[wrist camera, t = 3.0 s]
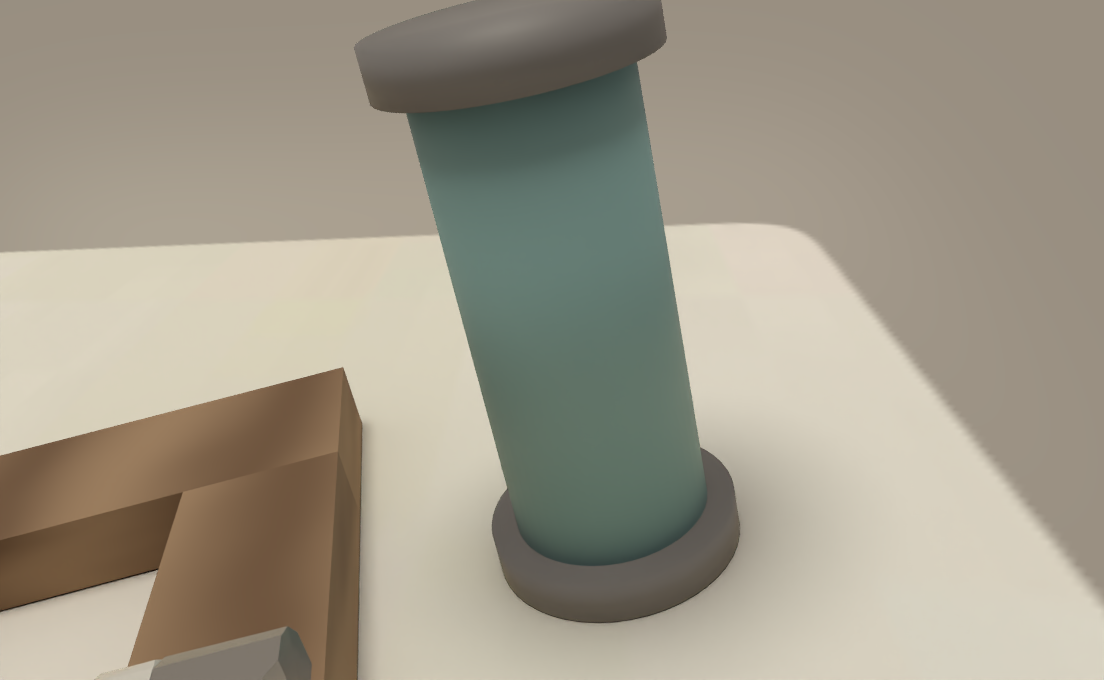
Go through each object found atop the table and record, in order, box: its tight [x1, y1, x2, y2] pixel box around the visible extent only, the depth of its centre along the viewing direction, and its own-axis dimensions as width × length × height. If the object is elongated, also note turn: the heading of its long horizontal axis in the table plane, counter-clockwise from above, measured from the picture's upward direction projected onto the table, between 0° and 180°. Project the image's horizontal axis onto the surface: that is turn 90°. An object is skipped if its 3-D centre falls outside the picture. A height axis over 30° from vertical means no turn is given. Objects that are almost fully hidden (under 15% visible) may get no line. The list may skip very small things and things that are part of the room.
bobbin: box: [354, 0, 740, 622], centre depth 21 cm, size 6×6×12 cm
